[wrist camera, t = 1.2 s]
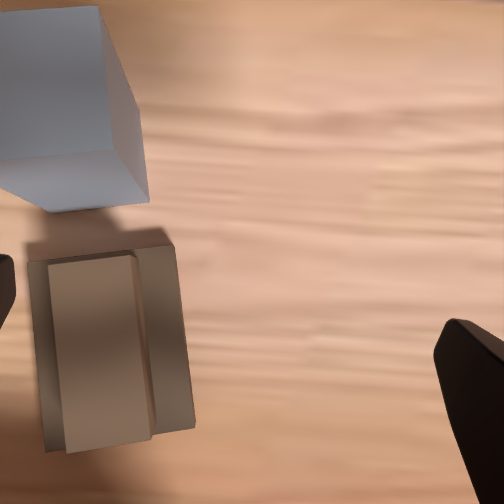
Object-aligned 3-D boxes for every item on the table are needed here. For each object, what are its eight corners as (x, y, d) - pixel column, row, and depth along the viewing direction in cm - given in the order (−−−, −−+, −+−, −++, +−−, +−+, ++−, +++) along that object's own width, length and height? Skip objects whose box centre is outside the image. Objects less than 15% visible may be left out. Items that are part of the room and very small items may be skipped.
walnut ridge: (195, 420, 23) (192, 444, 19) (54, 443, 22) (24, 473, 19) (174, 246, 24) (168, 238, 20) (36, 263, 23) (4, 258, 19)
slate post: (150, 202, 24) (114, 149, 15) (52, 213, 23) (-47, 165, 14) (139, 111, 24) (97, 5, 15) (42, 119, 24) (-60, 15, 15)
